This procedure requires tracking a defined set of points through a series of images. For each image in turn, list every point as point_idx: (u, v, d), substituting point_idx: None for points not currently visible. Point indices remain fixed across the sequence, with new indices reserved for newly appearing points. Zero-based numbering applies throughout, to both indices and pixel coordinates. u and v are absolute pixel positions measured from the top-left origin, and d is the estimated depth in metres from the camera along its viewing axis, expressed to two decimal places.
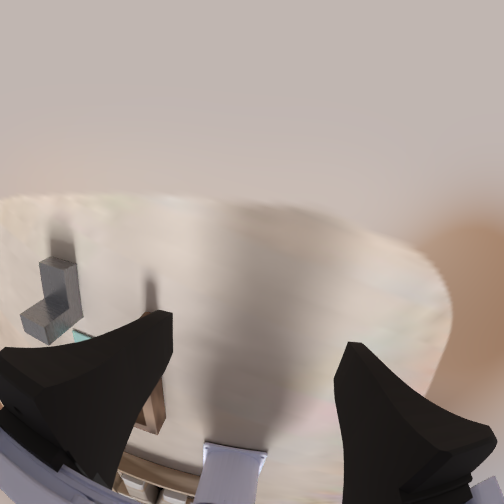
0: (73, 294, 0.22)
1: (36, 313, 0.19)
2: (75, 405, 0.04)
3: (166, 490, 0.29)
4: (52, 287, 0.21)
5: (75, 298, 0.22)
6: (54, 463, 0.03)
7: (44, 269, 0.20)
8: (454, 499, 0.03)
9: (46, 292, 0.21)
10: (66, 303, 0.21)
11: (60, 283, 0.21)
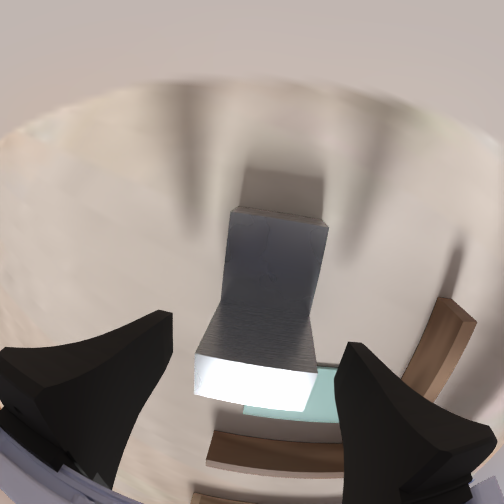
0: None
1: (246, 341, 0.09)
2: (75, 405, 0.04)
3: None
4: (267, 271, 0.11)
5: None
6: (54, 463, 0.03)
7: (250, 228, 0.11)
8: (454, 499, 0.03)
9: (235, 286, 0.12)
10: (304, 304, 0.12)
11: (304, 259, 0.11)
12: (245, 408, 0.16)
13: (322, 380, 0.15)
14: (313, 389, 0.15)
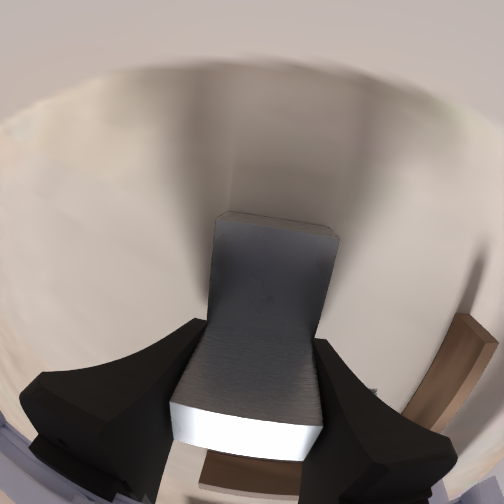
0: None
1: (235, 383, 0.07)
2: (132, 431, 0.04)
3: None
4: (262, 293, 0.09)
5: None
6: (54, 463, 0.03)
7: (240, 240, 0.09)
8: (454, 499, 0.03)
9: (223, 309, 0.09)
10: (307, 331, 0.09)
11: (307, 278, 0.09)
12: None
13: None
14: None
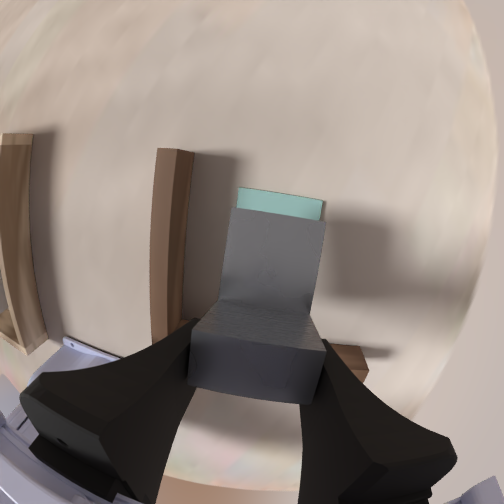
0: None
1: (247, 325, 0.09)
2: (132, 431, 0.04)
3: None
4: (266, 267, 0.11)
5: None
6: (54, 463, 0.03)
7: (250, 223, 0.11)
8: (454, 499, 0.03)
9: (234, 282, 0.12)
10: (304, 302, 0.11)
11: (303, 253, 0.11)
12: (249, 190, 0.16)
13: None
14: None
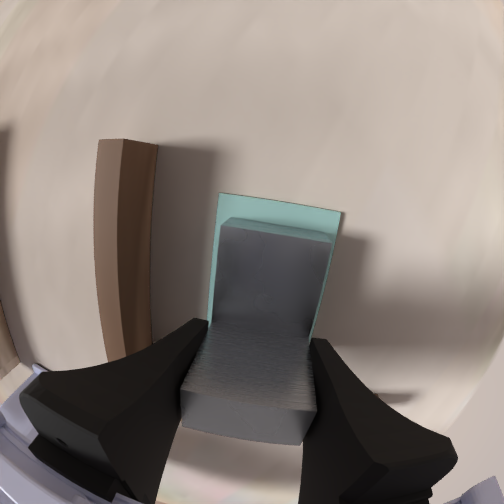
0: None
1: (238, 373, 0.08)
2: (132, 431, 0.04)
3: None
4: (262, 292, 0.10)
5: None
6: (54, 463, 0.03)
7: (242, 244, 0.10)
8: (454, 499, 0.03)
9: (227, 307, 0.10)
10: (303, 327, 0.10)
11: (303, 278, 0.10)
12: (233, 197, 0.11)
13: None
14: None
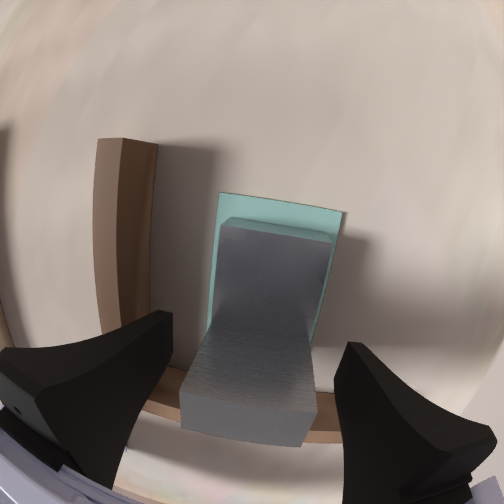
0: None
1: (238, 374, 0.08)
2: (75, 405, 0.04)
3: None
4: (262, 292, 0.10)
5: None
6: (54, 463, 0.03)
7: (242, 244, 0.10)
8: (454, 499, 0.03)
9: (227, 307, 0.10)
10: (304, 328, 0.10)
11: (304, 279, 0.10)
12: (234, 197, 0.11)
13: None
14: None
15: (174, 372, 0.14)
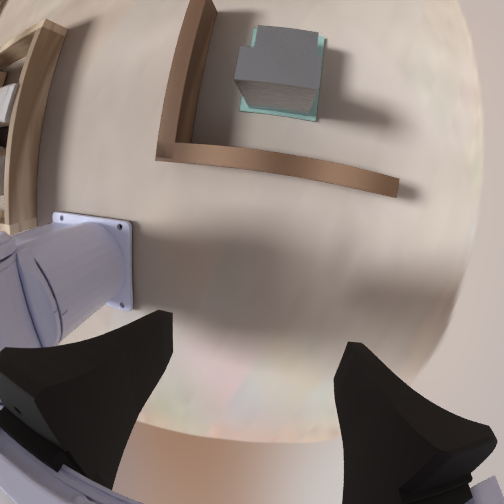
0: None
1: None
2: (75, 405, 0.04)
3: (1, 162, 0.16)
4: None
5: None
6: (54, 463, 0.03)
7: (270, 32, 0.13)
8: (454, 499, 0.03)
9: None
10: None
11: (305, 47, 0.13)
12: None
13: None
14: None
15: None
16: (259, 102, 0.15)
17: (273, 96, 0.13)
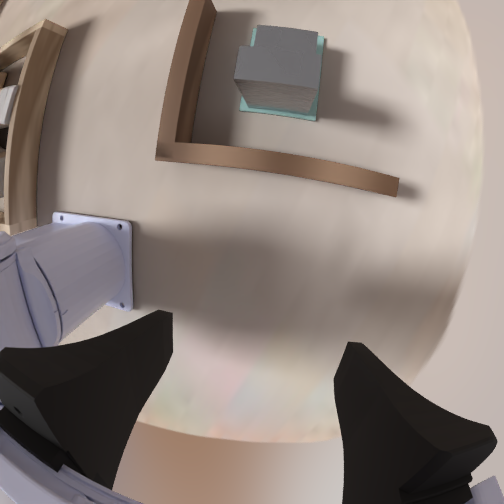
0: None
1: None
2: (75, 405, 0.04)
3: (1, 164, 0.16)
4: None
5: None
6: (54, 463, 0.03)
7: (269, 32, 0.13)
8: (454, 499, 0.03)
9: None
10: None
11: (304, 46, 0.13)
12: None
13: None
14: None
15: None
16: (259, 102, 0.15)
17: (273, 96, 0.13)
